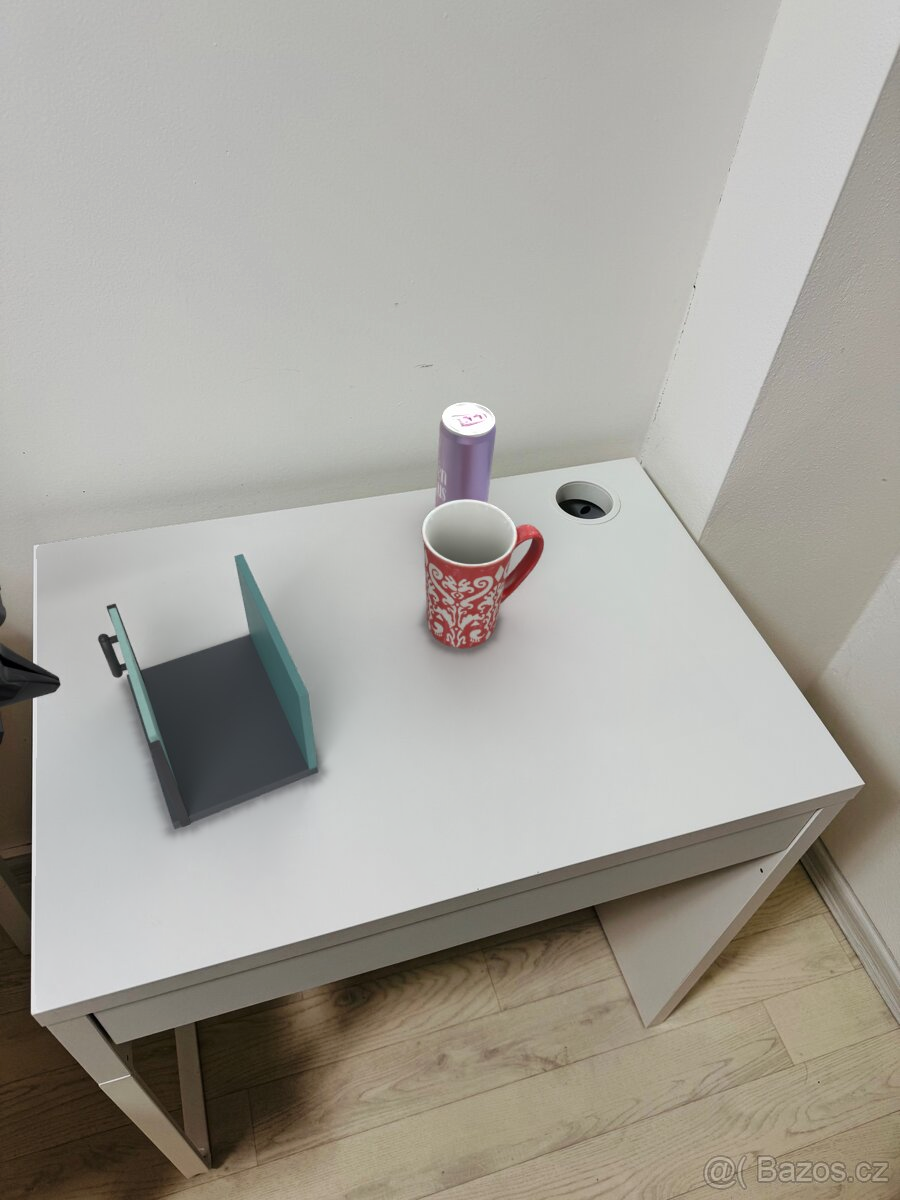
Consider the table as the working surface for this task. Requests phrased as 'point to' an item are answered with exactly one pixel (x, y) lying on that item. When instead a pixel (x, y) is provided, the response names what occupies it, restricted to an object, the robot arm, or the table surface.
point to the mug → (472, 568)
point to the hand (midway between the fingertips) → (57, 685)
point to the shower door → (130, 672)
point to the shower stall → (230, 718)
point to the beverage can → (465, 453)
